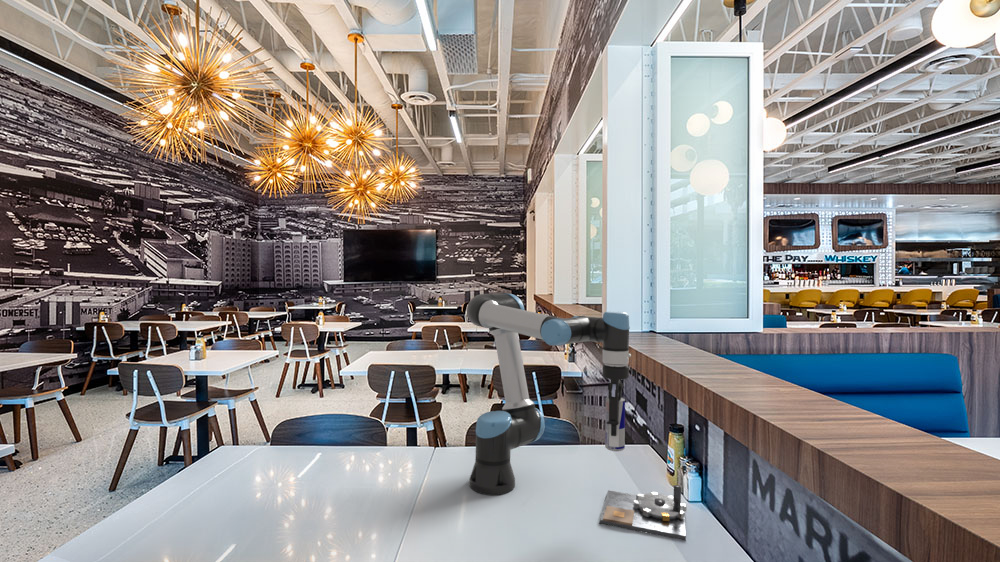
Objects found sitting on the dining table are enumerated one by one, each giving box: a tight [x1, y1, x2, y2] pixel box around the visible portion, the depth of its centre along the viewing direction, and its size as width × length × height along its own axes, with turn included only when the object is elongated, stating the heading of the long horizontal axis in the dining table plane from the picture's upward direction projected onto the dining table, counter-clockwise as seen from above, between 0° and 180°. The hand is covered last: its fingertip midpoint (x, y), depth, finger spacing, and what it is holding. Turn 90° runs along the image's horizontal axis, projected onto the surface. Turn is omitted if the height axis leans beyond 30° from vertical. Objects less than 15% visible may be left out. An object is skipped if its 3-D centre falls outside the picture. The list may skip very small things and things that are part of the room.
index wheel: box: [634, 484, 687, 521], centre depth 146 cm, size 15×15×8 cm
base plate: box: [599, 489, 687, 541], centre depth 144 cm, size 23×20×1 cm
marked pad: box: [603, 506, 634, 526], centre depth 141 cm, size 8×8×1 cm
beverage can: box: [604, 396, 626, 452], centre depth 143 cm, size 6×6×15 cm
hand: (614, 442), depth 144 cm, fingers closed on beverage can, 5 cm apart
